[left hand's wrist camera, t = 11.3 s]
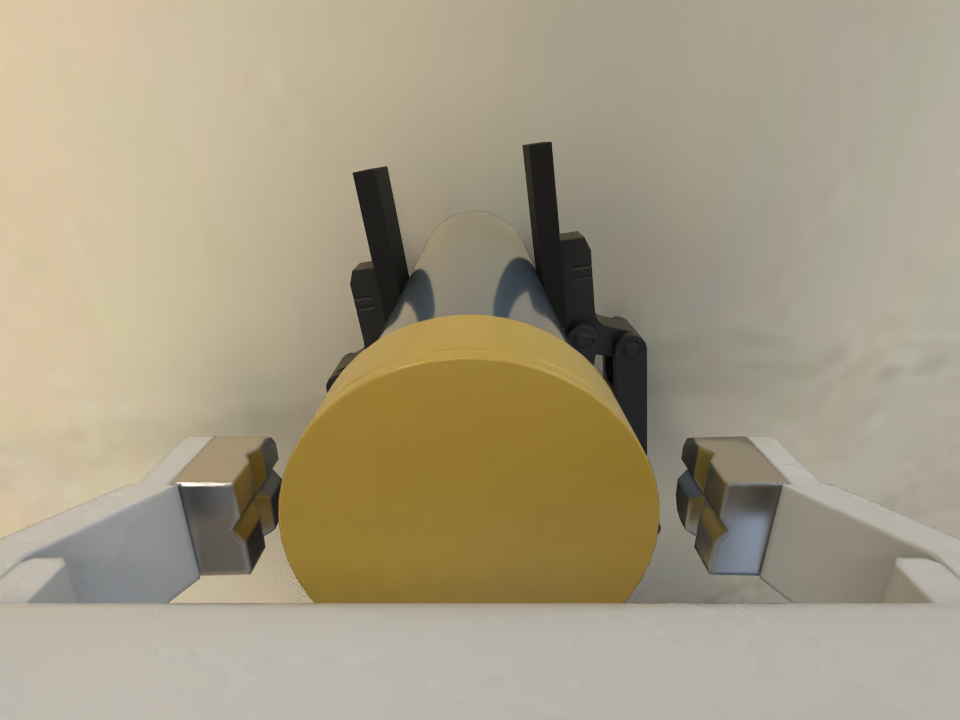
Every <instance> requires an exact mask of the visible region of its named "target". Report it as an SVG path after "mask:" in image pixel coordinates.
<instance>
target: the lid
mask: <svg viewBox="0 0 960 720" xmlns="http://www.w3.org/2000/svg"><path fill="white" fill-rule="evenodd" d="M279 527H280V533H281V540H282V544H283V547H284V550H285V553H286V556H287V559H288V562H289V564H290V566H291V568H292V570H293V572H294V574H295V576H296V578H297V580H298V581H299V583H300V584H301V586H302V587H303V589H304V590H305V592H306V593H307V594H308V596H309V597H310V598H311V599H312V600H313V601H314V603H625V602H626V600H627V599H628V598H629V597H630V595H631V594H632V593H633V591H634V590H635V588H636V587H637V585H638V584H639V583H640V581H641V579H642V577H643V575H644V573H645V571H646V569H647V567H648V565H649V563H650V560H651V557H652V554H653V551H654V548H655V545H656V540H657V534H658V528H659V497H658V490H657V484H656V480H655V477H654V474H653V471H652V468H651V465H650V462H649V460H648V458H647V456H646V454H645V452H644V450H643V448H642V446H641V444H640V442H639V441H638V439H637V437H636V435H635V433H634V431H633V429H632V428H631V426H630V424H629V422H628V420H627V418H626V416H625V415H624V413H623V411H622V409H621V407H620V405H619V404H618V402H617V400H616V398H615V396H614V394H613V392H612V391H611V389H610V387H609V385H608V384H607V383H606V381H605V380H604V379H603V377H602V376H601V374H600V373H599V372H598V370H597V369H596V368H595V367H594V366H593V365H592V364H591V363H590V362H589V361H588V360H587V359H586V358H585V357H584V356H583V355H582V354H580V353H579V352H578V351H576V350H575V349H574V348H573V347H571V346H570V345H569V344H567V343H566V342H564V341H562V340H561V339H559V338H557V337H555V336H554V335H552V334H550V333H549V332H546V331H544V330H541V329H539V328H537V327H534V326H532V325H529V324H526V323H523V322H519V321H515V320H512V319H508V318H502V317H495V316H488V315H453V316H444V317H437V318H433V319H429V320H425V321H421V322H417V323H414V324H411V325H409V326H406V327H403V328H401V329H398V330H396V331H394V332H392V333H390V334H388V335H387V336H385V337H383V338H381V339H379V340H377V341H376V342H374V343H373V344H372V345H370V346H369V347H368V348H366V349H365V350H364V351H362V352H361V353H360V354H359V355H358V356H357V357H356V358H355V359H354V360H353V361H352V362H350V363H349V364H348V365H347V366H346V367H345V369H344V370H343V371H342V373H341V374H340V375H339V377H338V378H337V379H336V381H335V382H334V383H333V385H332V386H331V388H330V390H329V391H328V393H327V395H326V396H325V398H324V400H323V401H322V403H321V405H320V406H319V408H318V409H317V411H316V413H315V414H314V416H313V418H312V419H311V421H310V423H309V424H308V426H307V428H306V429H305V431H304V433H303V434H302V436H301V438H300V439H299V441H298V443H297V445H296V447H295V449H294V451H293V452H292V454H291V456H290V458H289V461H288V463H287V466H286V469H285V472H284V475H283V478H282V483H281V489H280V495H279Z"/></svg>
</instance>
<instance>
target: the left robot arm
mask: <svg viewBox="0 0 960 720" xmlns="http://www.w3.org/2000/svg"><path fill="white" fill-rule="evenodd" d="M278 459H279V458H278V453H277V448H276V443H275V442H274V441H273V439H272V438H271V437H222V436H219V437H216V436H192V437H185V438H184V439H183V440H182V441H181V442H180V443H179V444H178V445H177V446H176V447H175V448H174V449H173V450H172V451H171V452H170V453H169V454H168V455H167V456H166V457H165V458H164V459H163V460H161V461H160V462H159V463H158V464H157V465H156V466H155V467H154V468H153V469H152V470H151V471H150V472H149V473H148V474H147V475H146V476H145V477H144V478H143V479H142V480H141V481H140V482H139V483H138V484H137V485H126V486H123V487H121V488H119V489H116V490H114V491H112V492H109V493H107V494H104V495H102V496H100V497H97V498H95V499H93V500H90V501H88V502H86V503H83V504H81V505H79V506H76V507H74V508H72V509H69V510H67V511H65V512H62V513H60V514H57V515H55V516H53V517H50V518H48V519H46V520H43V521H41V522H39V523H36V524H34V525H32V526H29V527H27V528H25V529H22V530H20V531H18V532H15V533H13V534H10V535H8V536H6V537H3V538H1V539H0V720H960V539H958V538H956V537H954V536H951V535H949V534H947V533H944V532H942V531H940V530H937V529H935V528H933V527H930V526H928V525H926V524H923V523H921V522H919V521H916V520H914V519H912V518H909V517H907V516H905V515H902V514H900V513H898V512H895V511H893V510H891V509H888V508H886V507H884V506H881V505H879V504H876V503H874V502H872V501H869V500H867V499H865V498H862V497H860V496H858V495H855V494H853V493H851V492H848V491H846V490H844V489H841V488H839V487H837V486H834V485H823V484H822V483H821V482H820V481H819V480H818V479H817V478H816V477H815V476H814V475H813V474H812V473H811V472H810V471H809V470H808V469H807V468H806V467H805V466H804V465H803V464H802V463H801V462H800V461H799V460H798V459H796V458H795V457H794V456H793V455H792V454H791V453H790V452H789V451H788V450H787V449H786V448H785V447H784V446H783V445H782V444H781V443H780V442H779V441H778V440H777V439H776V438H774V437H771V436H751V437H746V436H745V437H704V438H688V439H687V440H686V442H685V444H684V446H683V452H682V457H681V459H682V460H683V462H684V464H685V465H686V467H687V468H688V469H687V470H686V471H685V472H684V473H683V474H682V475H681V476H680V477H679V479H678V483H677V491H676V501H677V510H678V514H679V517H680V520H681V522H682V524H683V526H684V528H685V530H687V531H688V532H690V533H691V534H693V535H694V536H696V541H695V549H696V551H697V552H698V554H699V556H700V558H701V560H702V562H703V563H704V565H705V567H706V569H707V571H708V573H709V574H719V575H756V576H760V578H761V579H762V580H763V581H764V582H766V583H767V584H768V585H770V586H771V587H772V588H773V589H775V590H776V591H777V592H779V593H780V594H781V595H782V596H784V597H785V598H786V599H788V600H789V601H790V602H791V603H169V602H170V601H171V600H173V599H174V598H175V597H176V596H178V595H179V594H180V593H182V592H183V591H184V590H185V589H187V588H188V587H189V586H191V585H192V584H193V583H194V582H196V581H197V580H198V579H200V576H204V575H239V574H251V573H252V571H253V569H254V567H255V565H256V563H257V561H258V560H259V558H260V556H261V554H262V552H263V550H264V549H265V541H264V536H265V535H267V534H269V533H270V532H272V531H273V530H275V528H276V526H277V524H278V522H279V495H280V489H281V483H282V479H281V478H280V477H279V475H278V474H277V473H276V472H275V471H274V470H273V469H272V468H273V467H274V465H275V464H276V462H277V460H278Z"/></svg>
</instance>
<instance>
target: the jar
mask: <svg viewBox="0 0 960 720" xmlns="http://www.w3.org/2000/svg"><path fill="white" fill-rule="evenodd" d="M453 315H488V316H495V317H502V318H508V319H512V320H515V321H519V322H523V323H526V324H529V325H532V326H534V327H537V328H539V329H541V330H544V331H546V332H549V333H550V334H552V335H554V336H555V337H557V338H559V339H561V340H562V341H564V342H566V343H567V344H569V342H568V340H567V338H566V336H565V334H564V331H563V329H562V327H561V325H560V323H559V320H558V318H557V316H556V314H555V312H554V309H553V307H552V305H551V303H550V301H549V298H548V296H547V294H546V292H545V290H544V287H543V285H542V283H541V281H540V279H539V276H538V274H537V272H536V270H535V268H534V265H533V263H532V261H531V259H530V257H529V254H528V252H527V250H526V248H525V246H524V243H523V241H522V239H521V238H520V236H519V234H518V233H517V231H516V230H515V229H514V228H513V227H512V226H511V225H510V224H509V223H508V222H506V221H505V220H504V219H502V218H500V217H498V216H496V215H494V214H491V213H487V212H482V211H469V212H463V213H460V214H457V215H454V216H452V217H450V218H449V219H447V220H445V221H444V222H443V223H442V224H440V225H439V226H438V227H437V228H436V230H435V231H434V232H433V234H432V235H431V237H430V239H429V241H428V242H427V244H426V246H425V248H424V250H423V252H422V254H421V256H420V258H419V260H418V262H417V264H416V266H415V268H414V270H413V272H412V274H411V276H410V278H409V280H408V281H407V283H406V285H405V287H404V289H403V291H402V293H401V295H400V297H399V299H398V301H397V303H396V305H395V307H394V309H393V311H392V313H391V315H390V317H389V319H388V321H387V322H386V324H385V326H384V328H383V330H382V332H381V334H380V336H379V338H378V340H379V339H381V338H383V337H385V336H387V335H388V334H390V333H392V332H394V331H396V330H398V329H401V328H403V327H406V326H409V325H411V324H414V323H417V322H421V321H425V320H429V319H433V318H437V317H444V316H453Z"/></svg>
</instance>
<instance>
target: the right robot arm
mask: <svg viewBox="0 0 960 720" xmlns="http://www.w3.org/2000/svg"><path fill="white" fill-rule="evenodd" d="M523 154H524V163H525V172H526V182H527V191H528V201H529V210H530V219H531V229H532V238H533V248H534V257H535V266H536V272H537V274H538V276H539V279H540V281H541V283H542V285H543V287H544V290H545V292H546V294H547V296H548V298H549V301H550V303H551V305H552V307H553V309H554V312H555V314H556V316H557V318H558V320H559V323H560V325H561V327H562V329H563V331H564V334H565V336H566V338H567V340H568V342H569V345H570V346H571V347H573V348H574V349H575V350H576V351H578V352H579V353H580V354H582V355H583V356H584V357H585V358H586V359H587V360H588V361H589V362H590V363H591V364H592V365H594V360H595V356H596V354H598V355H603V376H604V380H605V381H606V383H607V384H608V385H609V387H610V389H611V391H612V392H613V394H614V396H615V398H616V400H617V402H618V404H619V405H620V407H621V409H622V411H623V413H624V415H625V416H626V418H627V420H628V422H629V424H630V426H631V428H632V429H633V431H634V433H635V435H636V437H637V439H638V441H639V442H640V444H641V446H642V448H643V450H644V452H645V454H646V456H647V347H646V343H645V342H644V340H643V339H642V338H641V337H640V335H639V334H638V333H637V332H636V331H635V329H634V328H633V327H632V326H631V325H630V324H629V322H628V321H627V320H626V319H624V318H622V317H613V318H609V317H604V316H600V315H597V314H596V313H595V308H594V293H593V278H592V266H591V264H592V263H591V250H590V248H589V246H588V244H587V242H586V240H585V238H584V237H583V236H582V235H581V234H580V233H579V232H578V231H576V232H569V233H563V234H559V222H558V211H557V199H556V188H555V177H554V165H553V154H552V142H540V143H534V144H527V145H523ZM353 176H354V181H355V185H356V190H357V195H358V199H359V204H360V208H361V213H362V217H363V222H364V226H365V231H366V235H367V240H368V244H369V249H370V253H371V258H372V261H370V262H364V263H360V264H359V265H358V266H357V267H356V268H355V269H354V270H353V271H352V277H351V284H350V285H351V289H352V294H353V298H354V302H355V306H356V309H357V314H358V318H359V323H360V327H361V331H362V335H363V339H364V345H365V347H364V348H363V349H361V350H359V351H357V352H356V353H349V354H347V355H345V356H344V357H343V358H342V360H341V361H340V363H339V364H338V366H337V368H336V369H335V371H334V372H333V374H332V375H331V377H330V379H329V380H328V382H327V385H326V388H327V393H328V391H329V390H330V388H331V386H332V385H333V383H334V382H335V381H336V379H337V378H338V377H339V375H340V374H341V373H342V371H343V370H344V369H345V367H346V366H347V365H348V364H349V363H350V362H352V361H353V360H354V359H355V358H356V357H357V356H358V355H359V354H360V353H361V352H362V351H364V350H365V349H366V348H368V347H369V346H370V345H372V344H373V343H374V342H376V341H377V340H378V338H379V336H380V334H381V332H382V330H383V328H384V326H385V324H386V322H387V321H388V319H389V317H390V315H391V313H392V311H393V309H394V307H395V305H396V303H397V301H398V299H399V297H400V295H401V293H402V291H403V289H404V287H405V285H406V283H407V281H408V280H409V274H408V269H407V264H406V259H405V254H404V249H403V244H402V239H401V234H400V229H399V224H398V219H397V213H396V208H395V203H394V198H393V193H392V188H391V183H390V178H389V173H388V168H387V166H386V167H380V168H373V169H367V170H363V171H359V172H354V173H353ZM660 529H661V527H660V523H659V528H658V534H659V532H660ZM658 534H657V535H658Z"/></svg>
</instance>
